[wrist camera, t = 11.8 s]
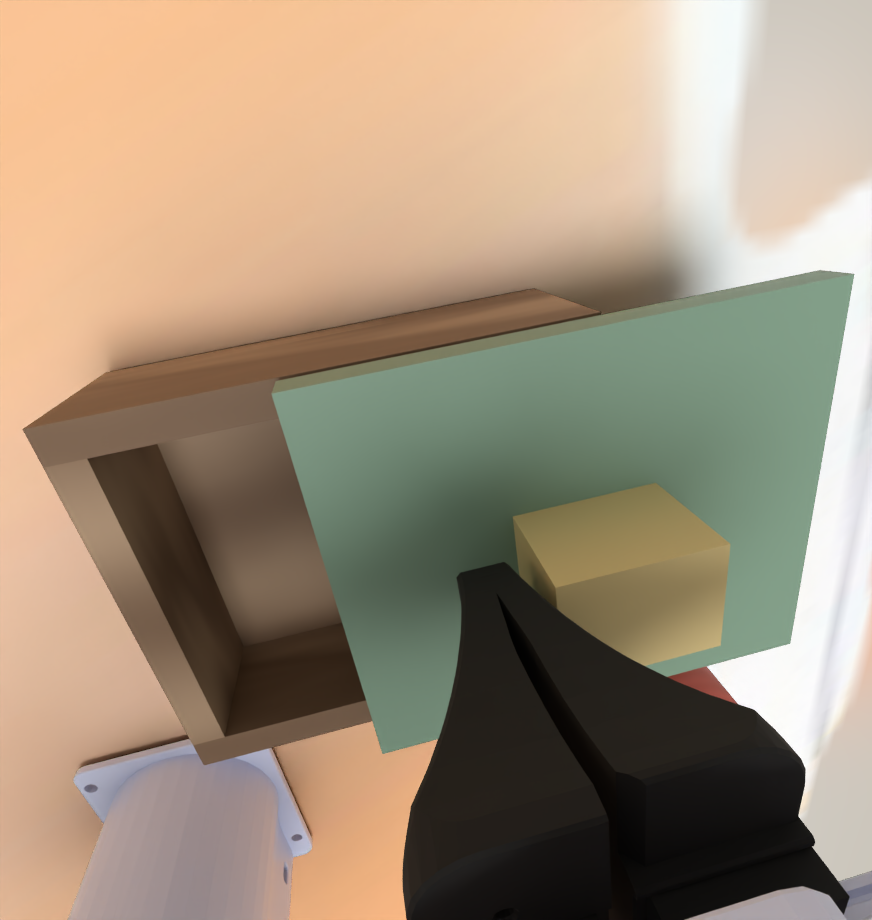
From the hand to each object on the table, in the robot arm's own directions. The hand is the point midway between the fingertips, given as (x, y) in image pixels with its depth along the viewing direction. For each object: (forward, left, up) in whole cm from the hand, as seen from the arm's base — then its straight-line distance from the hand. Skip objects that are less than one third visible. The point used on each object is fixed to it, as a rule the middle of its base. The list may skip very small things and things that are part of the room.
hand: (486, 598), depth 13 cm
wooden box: (0, +3, -7) cm, 8 cm away
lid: (0, -3, -2) cm, 4 cm away
